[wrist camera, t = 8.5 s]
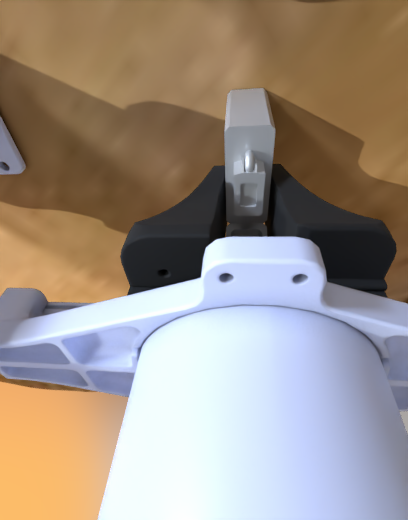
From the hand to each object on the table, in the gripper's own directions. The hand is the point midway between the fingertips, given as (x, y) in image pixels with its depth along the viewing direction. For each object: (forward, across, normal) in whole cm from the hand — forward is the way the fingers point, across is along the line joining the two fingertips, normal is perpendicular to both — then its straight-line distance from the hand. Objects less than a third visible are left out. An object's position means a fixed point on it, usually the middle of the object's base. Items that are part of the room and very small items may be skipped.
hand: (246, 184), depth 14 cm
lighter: (+2, 0, 0) cm, 2 cm away
